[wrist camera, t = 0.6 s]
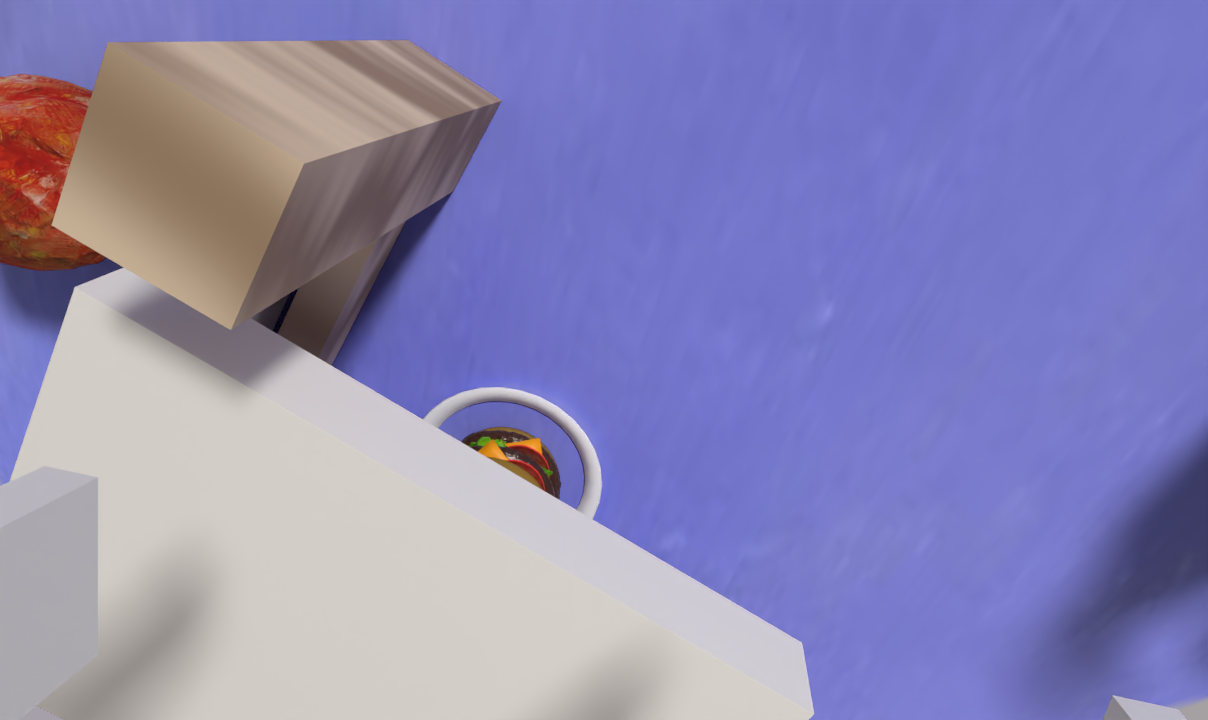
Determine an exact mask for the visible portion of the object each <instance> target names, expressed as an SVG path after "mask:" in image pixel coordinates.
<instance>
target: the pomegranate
mask: <svg viewBox="0 0 1208 720" xmlns="http://www.w3.org/2000/svg"><path fill="white" fill-rule="evenodd" d="M92 93H93V91H90V90H88V89H85V88H82V87H80V86H77V85H75V84H72V83H69V82H66V81H62V80H58V79H53V78H49V77H45V76H38V75H26V74H18V75H12V76H7V77H0V263H4V264H8V265H13V266H17V267H21V268H26V269H32V270H38V271H47V270H68V269H75V268H77V267H81V266H85V265H90V264H98V263H100V262H102V261H103V260H104V259H105V258H107V257H105V256H103V255H101V254H100V253H98V252H96V251H95V250H93V249H91V248H89V247H88V246H86V245H84V244H83V243H81V242H79V241H78V240H76V239H74V238H72V237H71V236H69V235H67V234H66V233H64V232H62V231H60V230H59V229H57V228H55V227H54V226H52V222H53V219H54V216H55V212H56V209H57V206H58V203H59V199H60V196H61V193H62V190H63V187H64V183H65V180H66V177H67V174H68V170H69V167H70V164H71V161H72V157H73V154H74V151H75V148H76V144H77V141H78V138H79V135H80V132H81V128H82V125H83V122H84V119H85V115H86V112H87V109H88V106H89V102H90V99H91V96H92Z"/></svg>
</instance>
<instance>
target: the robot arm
mask: <svg viewBox="0 0 1208 720" xmlns="http://www.w3.org/2000/svg"><path fill="white" fill-rule="evenodd" d="M96 656H98V477H94V476H89V475H84V474H80V473H75V472H71V471H66V470H61V469H57V468H52V467H47V466H43V467H41V468H39V469H37V470H34V471H32V472H30V473H28V474H26V475H23V476H21V477H19V478H17V479H15V480H13V481H10V482H8V483H6V484H4V485H2V486H0V720H19V719H20V718H21V717H23V716H24V715H25V714H26V713H28V712H29V711H30V710H31V709H32V708H34V707H35V706H36V705H37V704H39V703H40V702H41V701H42V700H44V699H45V698H46V697H47V696H48V695H50V694H51V693H52V692H53V691H55V690H56V689H57V688H58V687H60V686H61V685H62V684H63V683H64V682H66V681H67V680H68V679H69V678H71V677H72V676H73V675H74V674H76V673H77V672H78V671H79V670H80V669H82V668H83V667H84V666H85V665H87V664H88V663H89V662H90V661H91V660H93V659H94V658H95V657H96ZM1103 720H1187V719H1186V718H1185V717H1184V716H1183V714H1182V713H1181V712H1180V711H1179V710H1178V709H1174V708H1169V707H1165V706H1160V705H1155V704H1151V703H1146V702H1141V701H1137V700H1132V699H1127V698H1123V697H1118V696H1112V698H1111V701H1110V703H1109V706H1108V708H1107V711H1106V713H1105V716H1104V718H1103Z"/></svg>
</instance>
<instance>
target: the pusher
mask: <svg viewBox="0 0 1208 720" xmlns="http://www.w3.org/2000/svg"><path fill="white" fill-rule="evenodd" d="M500 103H501V100H499V99H498V98H496V97H495V96H493V95H492V94H490V93H489V92H487V91H486V90H484V89H483V88H481V87H479V86H478V85H476V84H475V83H473V82H472V81H470V80H469V79H467V78H466V77H464V76H463V75H461V74H459V73H458V72H456V71H455V70H453V69H452V68H450V67H449V66H447V65H446V64H444V63H443V62H441V61H440V60H438V59H436V58H435V57H433V56H432V55H430V54H429V53H427V52H426V51H424V50H423V49H421V48H420V47H418V46H416V45H415V44H413V43H412V42H410V41H409V40H366V41H228V42H108V44H107V47H106V51H105V54H104V57H103V60H102V64H101V67H100V70H99V73H98V77H97V80H96V83H95V86H94V89H93V93H92V96H91V99H90V102H89V106H88V109H87V112H86V115H85V119H84V122H83V125H82V128H81V132H80V135H79V138H78V141H77V144H76V148H75V151H74V154H73V157H72V161H71V164H70V167H69V170H68V174H67V177H66V180H65V183H64V187H63V190H62V193H61V196H60V199H59V203H58V206H57V209H56V212H55V216H54V219H53V222H52V226H54V227H55V228H57V229H59V230H60V231H62V232H64V233H66V234H67V235H69V236H71V237H72V238H74V239H76V240H78V241H79V242H81V243H83V244H84V245H86V246H88V247H89V248H91V249H93V250H95V251H96V252H98V253H100V254H101V255H103V256H105V257H107V258H108V259H110V260H112V261H113V262H115V263H117V264H119V265H120V266H122V267H124V268H125V269H127V270H129V271H130V272H132V273H134V274H136V275H137V276H139V277H141V278H142V279H144V280H146V281H148V282H149V283H151V284H153V285H154V286H156V287H158V288H160V289H161V290H163V291H165V292H166V293H168V294H170V295H171V296H173V297H175V298H177V299H178V300H180V301H182V302H183V303H185V304H187V305H189V306H190V307H192V308H194V309H195V310H197V311H199V312H201V313H202V314H204V315H206V316H207V317H209V318H211V319H213V320H214V321H216V322H218V323H219V324H221V325H223V326H224V327H226V328H228V329H230V330H232V329H233V328H235V327H237V326H238V325H240V324H241V323H243V322H245V321H246V320H248V319H249V318H251V317H253V316H254V315H256V314H257V313H259V312H261V311H262V310H264V309H265V308H267V307H269V306H270V305H272V304H273V303H275V302H277V301H278V300H280V299H281V298H283V297H285V296H286V295H288V294H289V293H291V292H293V291H294V290H296V289H297V288H299V289H298V291H297V293H296V295H295V297H294V300H293V302H292V304H291V306H290V308H289V310H288V312H287V314H286V317H285V319H284V321H283V323H282V325H281V327H280V329H279V331H278V335H280V336H282V337H283V338H285V339H287V340H289V341H290V342H292V343H294V344H295V345H297V346H299V347H300V348H302V349H304V350H306V351H307V352H309V353H311V354H312V355H314V356H316V357H317V358H319V359H321V360H323V361H324V362H326V363H328V364H329V365H331V366H332V364H333V362H334V360H335V358H336V356H337V354H338V352H339V350H340V348H341V346H342V345H343V343H344V341H345V339H346V337H347V335H348V333H349V331H350V329H351V327H352V325H353V323H354V321H355V319H356V317H357V315H358V313H359V311H360V309H361V308H362V306H363V304H364V302H365V300H366V298H367V296H368V294H369V292H370V290H371V288H372V286H373V284H374V282H375V280H376V278H377V276H378V274H379V272H380V271H381V269H382V267H383V265H384V263H385V261H386V259H387V257H388V255H389V253H390V251H391V249H392V247H393V245H394V243H395V241H396V239H397V237H398V235H399V234H400V232H401V230H402V228H403V226H404V224H405V222H406V220H408V219H410V218H411V217H413V216H414V215H416V214H418V213H419V212H421V211H422V210H424V209H426V208H427V207H429V206H430V205H432V204H434V203H435V202H437V201H438V200H440V199H442V198H443V197H445V196H446V195H448V194H450V193H451V192H453V191H454V189H455V187H456V185H457V183H458V182H459V180H460V178H461V176H462V174H463V172H464V170H465V168H466V167H467V165H468V163H469V161H470V159H471V157H472V155H473V153H474V152H475V150H476V148H477V146H478V144H479V142H480V140H481V138H482V136H483V135H484V133H485V131H486V129H487V127H488V125H489V123H490V121H491V120H492V118H493V116H494V114H495V112H496V110H497V108H498V106H499V104H500Z"/></svg>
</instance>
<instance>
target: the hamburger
mask: <svg viewBox="0 0 1208 720" xmlns="http://www.w3.org/2000/svg"><path fill="white" fill-rule="evenodd" d="M490 401H505V402H511V403H518V404H521V405H524V406H527V407H530V408H533V409H535V410H537V411H539V412H541V413H543V414H544V415H546V416H548V417H550V418H551V419H552V420H553V421H555V422H556V423H557V424H558V425H559V426H561V427H562V428H563V430H564V431H565V432H566V433H567V434H568V435H569V436H570V438H571V439H572V440H573V442H574V444H575V446H576V447H577V449H578V451H579V453H580V456H581V459H582V462H583V465H584V474H585V485H584V493H583V496H582V498H581V501H580V504H579V506H578V507H577V509H576V510H577V511H579V512H581V513H582V514H584V515H586V516H587V517H589V518H591V519H593V518H594V516H595V513H596V511H597V508H598V505H599V503H600V498H601V490H602V477H601V467H600V464H599V461H598V458H597V455H596V451H595V449H594V447H593V446H592V444H591V442H590V440H589V439H588V437H587V435H586V433H585V432H584V431H583V430H582V429H581V428H580V426H579V425H578V424H577V423H576V422H575V421H574V419H572V418H571V417H570V416H569V415H567V414H566V413H565V412H564V411H563V410H561V409H560V408H559V407H558V406H556V405H554V404H552V403H550V402H548V401H547V400H545V399H543V398H541V397H539V396H536V395H533V394H530V393H527V392H524V391H521V390H516V389H510V388H503V387H487V388H477V389H472V390H468V391H463V392H460V393H458V394H456V395H454V396H451V397H449V398H447V399H445V400H443V401H442V402H441V403H439V404H438V405H437V406H435V407H434V408H432V409H431V410H430V411H429V412H428V413H427V415H426V416H425V417H424V418H423V420H424V421H426V422H428V423H430V424H431V425H433V426H435V427H436V428H439V427H440V426H441V424H442V423H443V422H444V421H445V420H446V419H447V418H449V417H450V416H451V415H453V414H454V413H455V412H457V411H459V410H461V409H463V408H465V407H468V406H470V405H473V404H478V403H482V402H490ZM462 443H463V444H465V445H467V446H469V447H470V448H472V449H474V450H475V451H477V452H479V453H480V454H482V455H484V456H486V457H487V458H489V459H491V460H492V461H494V462H496V463H497V464H499V465H501V466H503V467H504V468H506V469H508V470H509V471H511V472H513V473H514V474H516V475H518V476H520V477H521V478H523V479H525V480H526V481H528V482H530V483H531V484H533V485H535V486H536V487H538V488H540V489H542V490H543V491H545V492H547V493H548V494H550V495H552V496H553V497H555V498H557V499H559V498H560V497H559V494H560V487H561V482H560V475H559V472H558V468H557V465H556V463H555V460H554V458H553V456H552V454H551V453H550V452H549V450H548V449H547V447H546V446H545V445H544V444H542V443H541V442H540V438H535V437H534V436H532V435H530V434H528V433H526V432H524V431H522V430H518V429H514V428H510V427H494V428H488V429H485V430H482V431H479V432H476V433H472V434H470V435H468V436H467V437H465V438H464V439H463V440H462Z"/></svg>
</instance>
